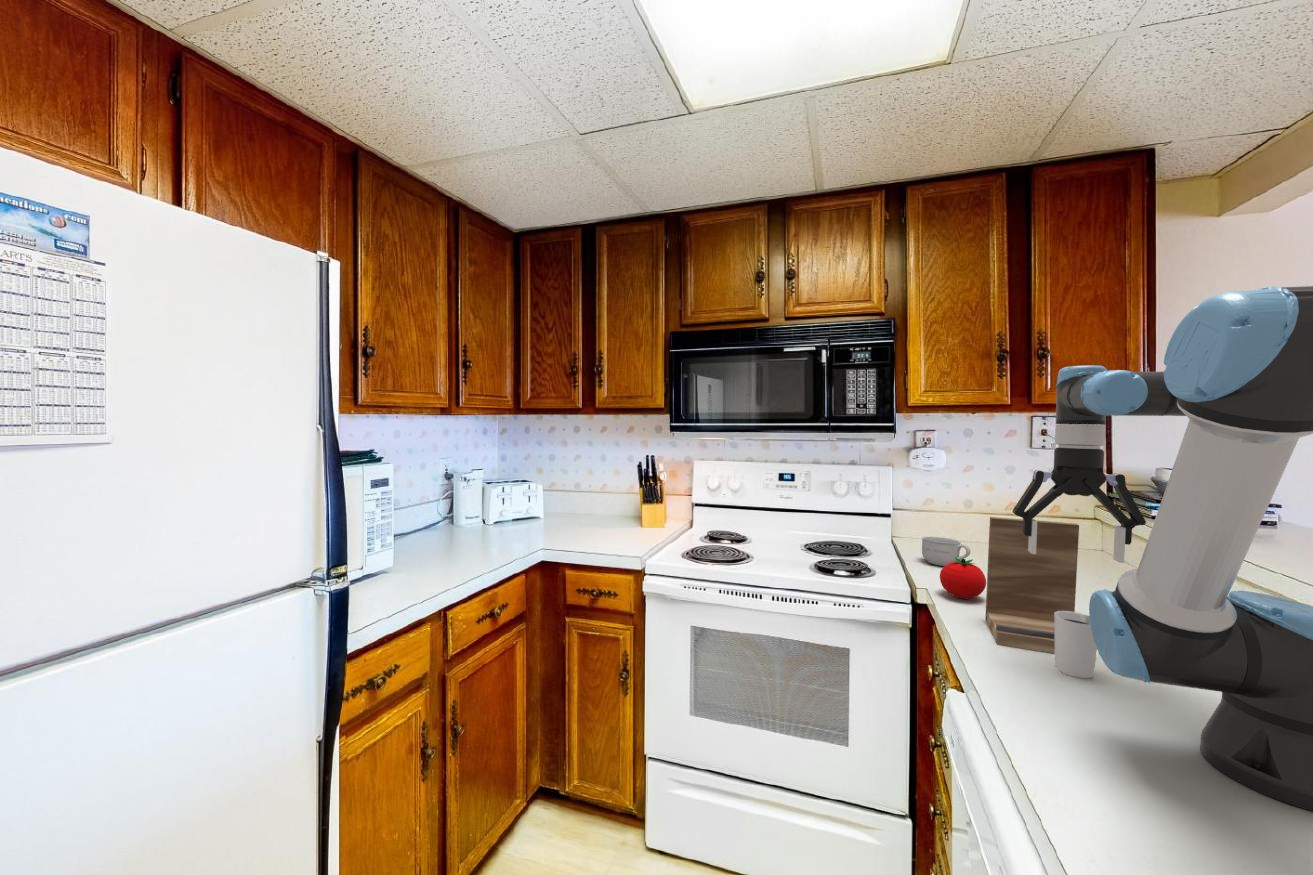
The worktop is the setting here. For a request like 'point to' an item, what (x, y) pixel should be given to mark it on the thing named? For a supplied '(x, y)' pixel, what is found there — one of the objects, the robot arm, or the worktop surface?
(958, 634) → the worktop surface
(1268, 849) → the worktop surface
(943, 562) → the teacup
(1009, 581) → the wooden display stand
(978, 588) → the tomato
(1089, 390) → the robot arm
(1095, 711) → the worktop surface
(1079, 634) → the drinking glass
